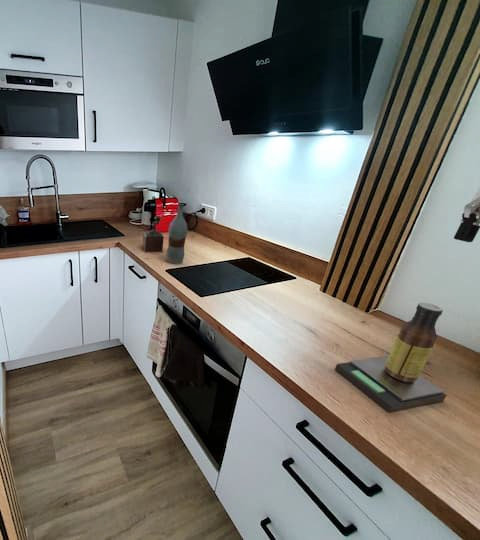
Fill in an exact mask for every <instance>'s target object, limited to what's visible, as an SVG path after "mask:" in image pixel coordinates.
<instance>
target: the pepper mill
mask: <svg viewBox="0 0 480 540" xmlns="http://www.w3.org/2000/svg"><path fill="white" fill-rule="evenodd" d="M154 220H155V221H152V223H151V226H152V229H151V230H148V231H143V232H142V249H143V250H144V252H145V253H163V252H164V250H163V249H164V238H165V237H164V235H163V234H162V231H160V230H156V229H155V228H156V227H155V226H156V225H160V224H161V222H160V221H161V220H162V217H161V216H160V215H155V216H154Z"/></svg>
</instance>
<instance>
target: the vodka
mask: <svg viewBox="0 0 480 540" xmlns="http://www.w3.org/2000/svg"><path fill="white" fill-rule="evenodd" d="M183 213H184V203H177V213H176V216H175V217H174V218H173V219H172V221H171V222H170V224H169V227H168V245H167V248H166V253H165V254H166V255H165V256H166V262H167V263H169V264H171V265H180V264H182V263H183V261H184V258H185V244H186V239H187V234H188V223H187V222H186V219H185V217H184V214H183Z"/></svg>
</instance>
